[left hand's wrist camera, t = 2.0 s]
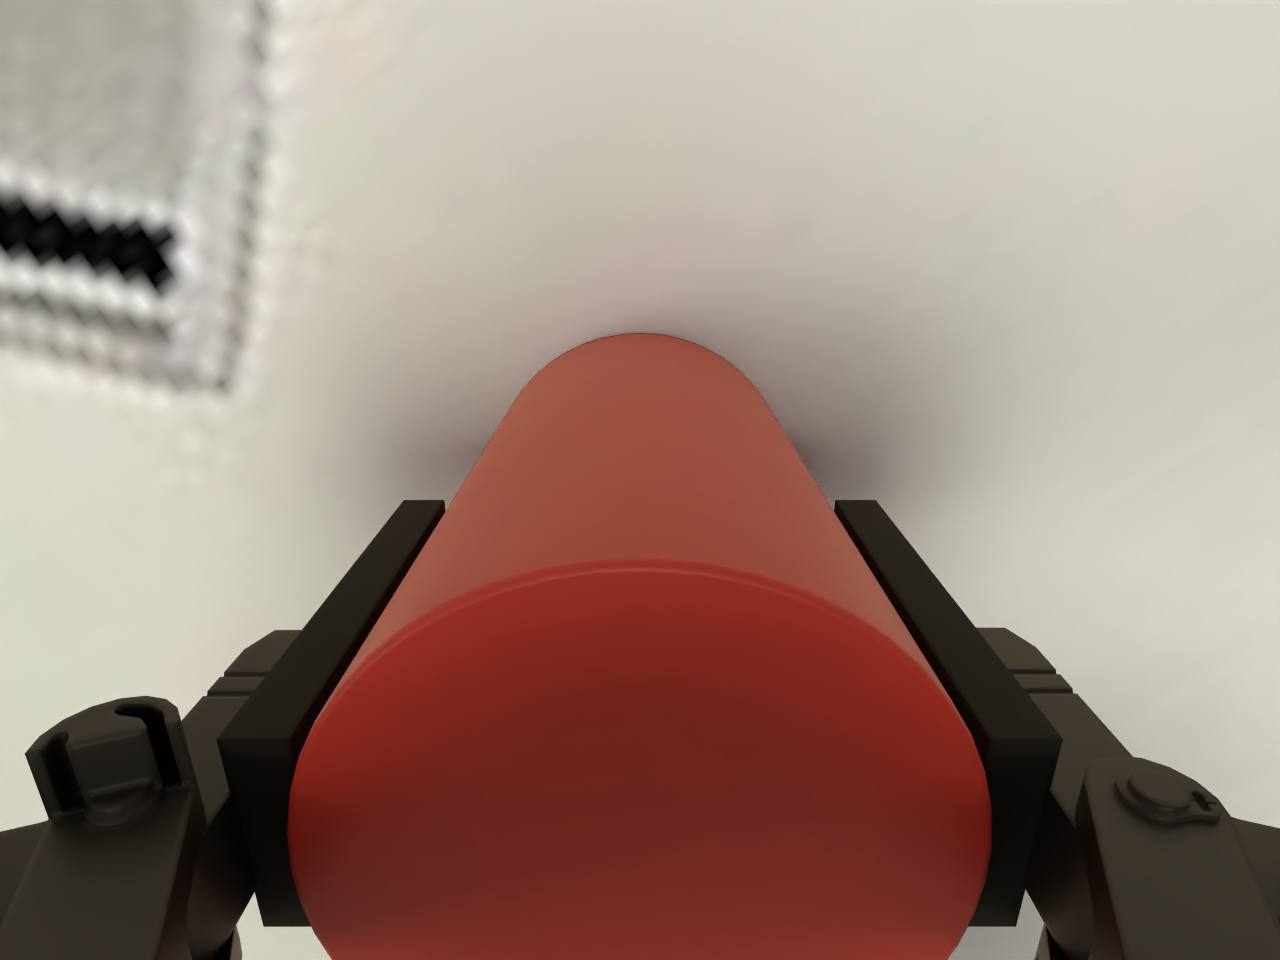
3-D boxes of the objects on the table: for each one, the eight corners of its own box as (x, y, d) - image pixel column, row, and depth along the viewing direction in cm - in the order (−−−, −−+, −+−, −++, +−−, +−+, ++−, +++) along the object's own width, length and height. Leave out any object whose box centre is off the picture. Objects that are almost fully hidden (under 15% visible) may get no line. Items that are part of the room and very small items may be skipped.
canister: (837, 406, 18) (1147, 731, 7) (706, 640, 20) (785, 1159, 9) (559, 281, 17) (410, 432, 6) (456, 543, 19) (212, 998, 8)
